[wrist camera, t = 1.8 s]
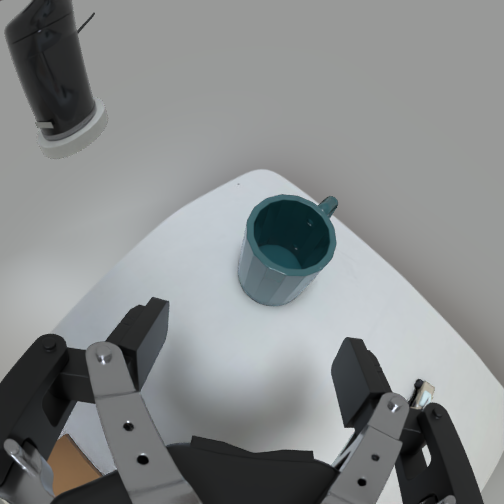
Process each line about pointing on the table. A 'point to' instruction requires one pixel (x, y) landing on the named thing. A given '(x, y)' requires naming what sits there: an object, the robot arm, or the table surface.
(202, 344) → the table surface
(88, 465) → the cork mat
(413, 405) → the toy car
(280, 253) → the mug
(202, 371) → the table surface
